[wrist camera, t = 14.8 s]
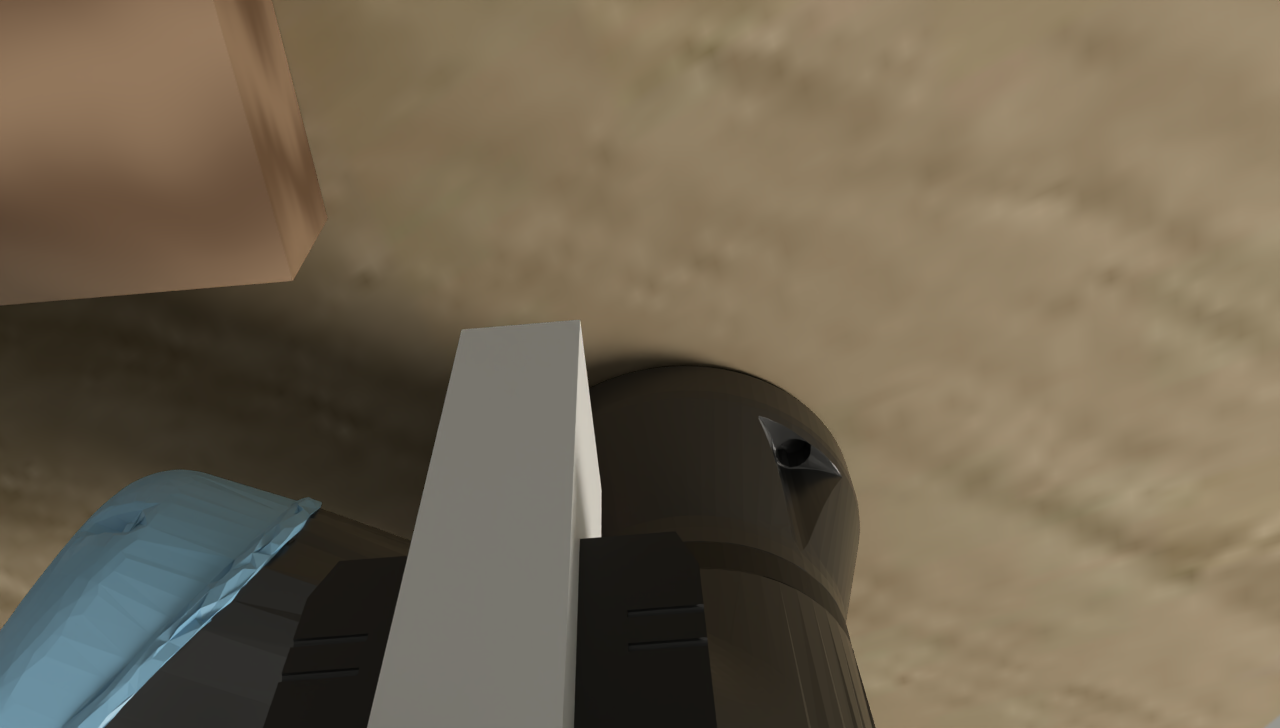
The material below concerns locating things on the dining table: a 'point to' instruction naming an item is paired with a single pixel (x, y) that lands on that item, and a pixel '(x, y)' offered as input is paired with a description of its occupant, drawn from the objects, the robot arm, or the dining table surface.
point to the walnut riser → (149, 149)
